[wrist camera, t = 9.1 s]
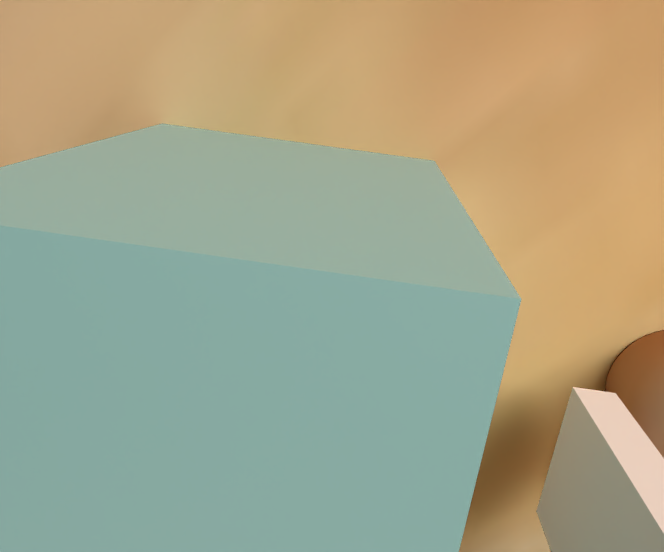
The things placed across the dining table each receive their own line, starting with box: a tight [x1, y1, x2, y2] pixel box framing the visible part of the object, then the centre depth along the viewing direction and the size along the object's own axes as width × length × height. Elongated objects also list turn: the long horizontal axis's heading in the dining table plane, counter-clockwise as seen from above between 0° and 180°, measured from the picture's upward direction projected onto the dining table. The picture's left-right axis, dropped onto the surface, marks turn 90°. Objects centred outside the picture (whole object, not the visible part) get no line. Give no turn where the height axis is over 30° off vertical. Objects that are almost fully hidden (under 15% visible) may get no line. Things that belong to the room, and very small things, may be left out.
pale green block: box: [0, 124, 521, 552], centre depth 9 cm, size 5×10×7 cm, turn 173°
